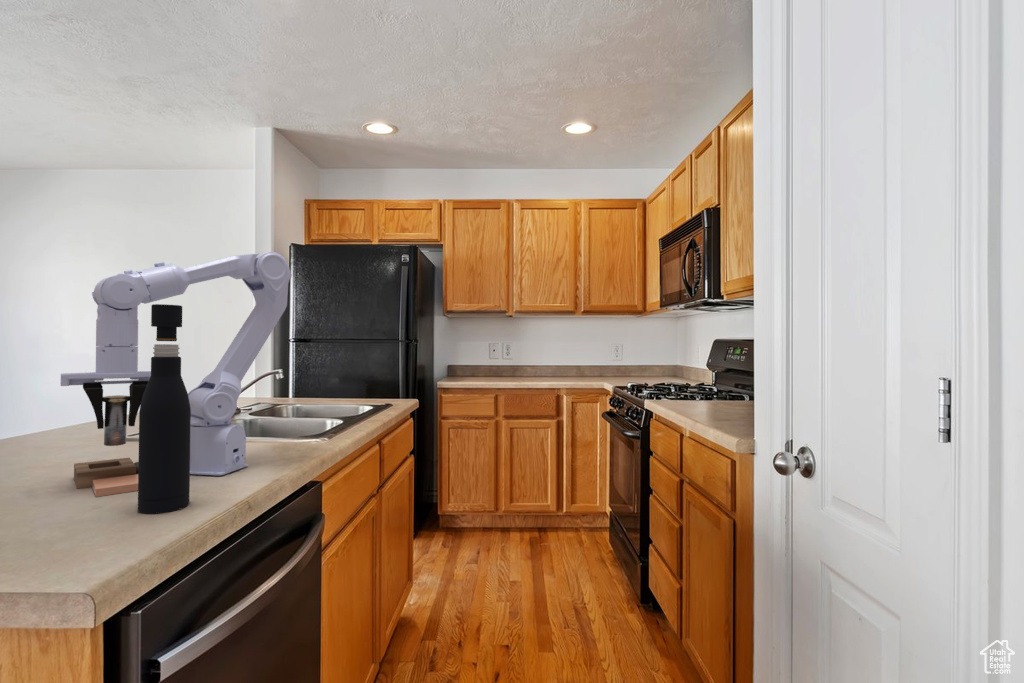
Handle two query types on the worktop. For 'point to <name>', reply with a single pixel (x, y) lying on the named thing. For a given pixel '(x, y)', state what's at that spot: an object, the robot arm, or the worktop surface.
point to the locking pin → (115, 420)
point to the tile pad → (115, 485)
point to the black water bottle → (164, 423)
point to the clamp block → (103, 470)
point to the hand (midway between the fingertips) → (116, 426)
